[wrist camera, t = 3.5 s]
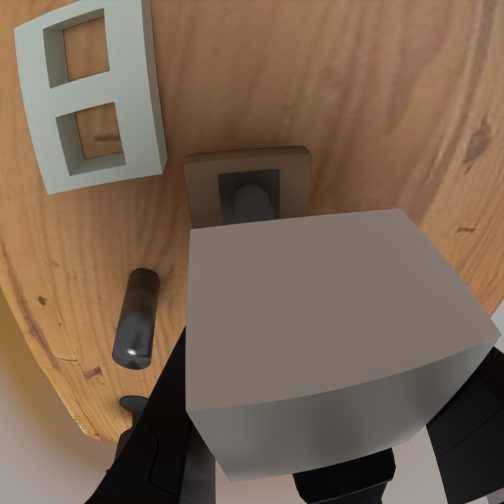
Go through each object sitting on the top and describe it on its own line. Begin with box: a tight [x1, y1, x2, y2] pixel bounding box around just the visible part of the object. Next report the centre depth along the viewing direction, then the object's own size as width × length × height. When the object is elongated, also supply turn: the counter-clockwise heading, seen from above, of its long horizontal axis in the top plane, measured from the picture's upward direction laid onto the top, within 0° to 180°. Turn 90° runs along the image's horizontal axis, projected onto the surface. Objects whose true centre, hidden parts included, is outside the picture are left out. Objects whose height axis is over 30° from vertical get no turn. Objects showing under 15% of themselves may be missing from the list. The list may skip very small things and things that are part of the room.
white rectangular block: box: [186, 208, 501, 481], centre depth 7 cm, size 6×6×4 cm
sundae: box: [106, 396, 148, 474], centre depth 28 cm, size 7×7×15 cm
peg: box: [112, 268, 160, 370], centre depth 20 cm, size 2×2×7 cm
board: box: [183, 146, 311, 229], centre depth 19 cm, size 10×7×4 cm
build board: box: [14, 0, 168, 195], centre depth 13 cm, size 10×7×2 cm
